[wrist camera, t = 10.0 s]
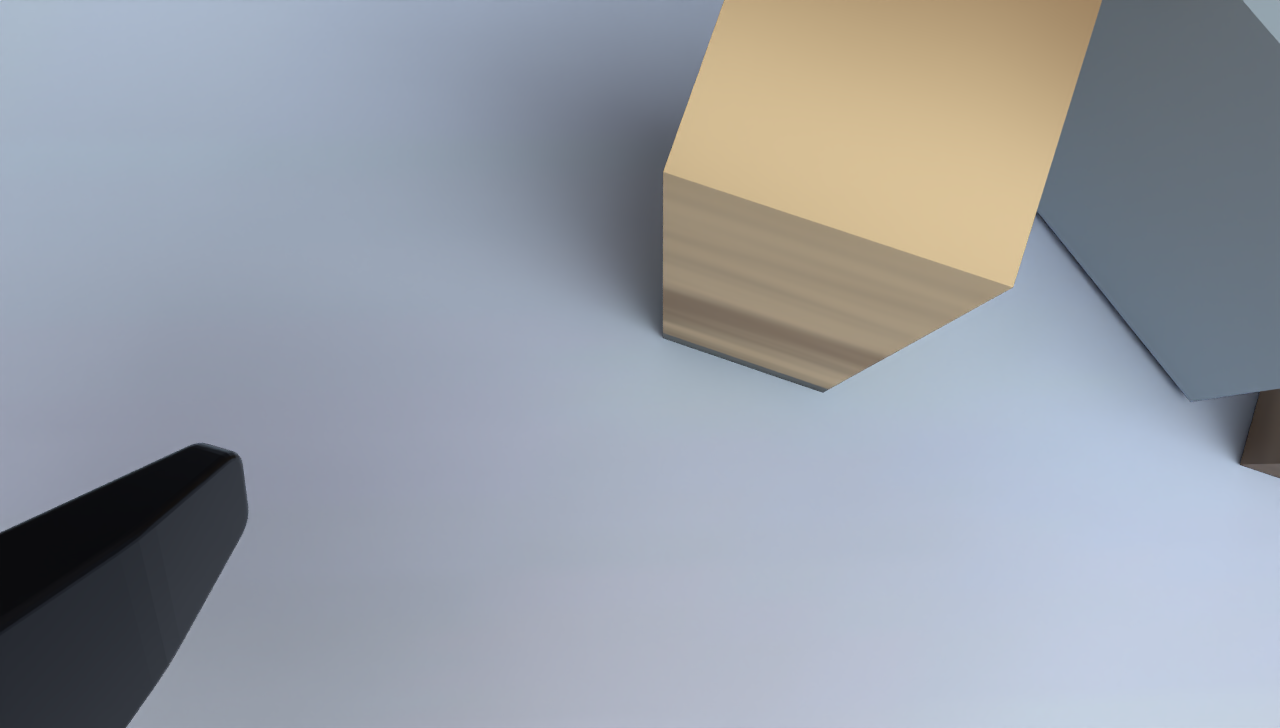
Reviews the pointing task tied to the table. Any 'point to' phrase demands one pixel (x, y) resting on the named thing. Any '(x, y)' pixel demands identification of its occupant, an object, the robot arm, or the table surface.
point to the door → (1180, 184)
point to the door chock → (859, 173)
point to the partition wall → (1264, 435)
